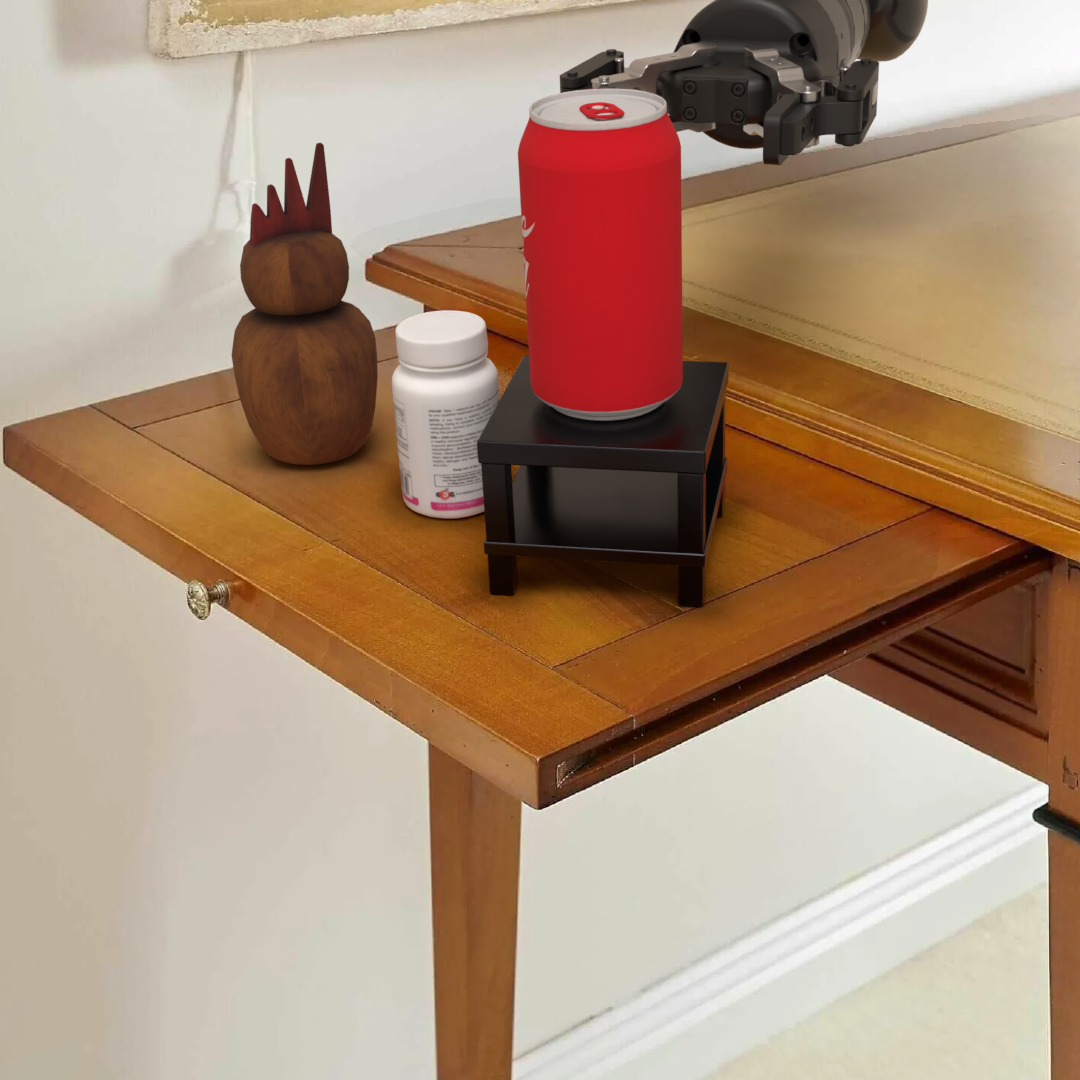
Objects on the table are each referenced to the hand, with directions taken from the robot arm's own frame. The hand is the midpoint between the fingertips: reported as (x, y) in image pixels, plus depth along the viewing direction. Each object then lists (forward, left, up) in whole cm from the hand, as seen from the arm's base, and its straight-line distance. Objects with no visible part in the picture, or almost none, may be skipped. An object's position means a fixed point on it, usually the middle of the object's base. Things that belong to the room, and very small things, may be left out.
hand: (674, 136), depth 70 cm
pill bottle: (+10, +5, -16) cm, 19 cm away
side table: (+2, +9, -15) cm, 18 cm away
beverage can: (+2, +9, -9) cm, 13 cm away
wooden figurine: (+18, +1, -16) cm, 24 cm away
